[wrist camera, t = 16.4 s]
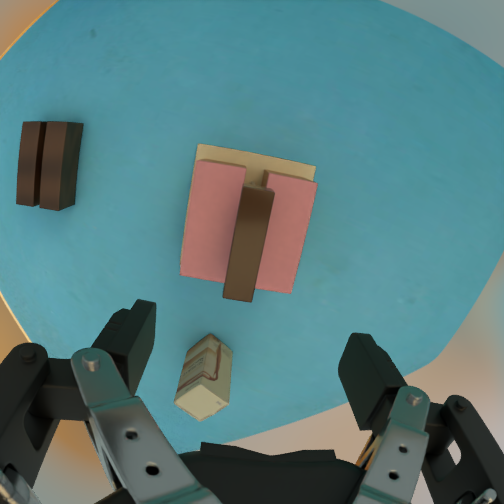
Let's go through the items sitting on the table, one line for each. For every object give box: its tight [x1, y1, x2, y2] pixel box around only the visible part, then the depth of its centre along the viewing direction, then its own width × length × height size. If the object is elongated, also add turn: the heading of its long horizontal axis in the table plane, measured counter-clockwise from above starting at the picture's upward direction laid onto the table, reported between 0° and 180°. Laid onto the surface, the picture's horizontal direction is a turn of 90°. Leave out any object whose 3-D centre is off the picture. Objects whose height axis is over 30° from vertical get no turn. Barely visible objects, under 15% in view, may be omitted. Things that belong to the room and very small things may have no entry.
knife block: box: [16, 121, 84, 211], centre depth 30 cm, size 10×7×4 cm
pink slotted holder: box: [180, 144, 318, 294], centre depth 32 cm, size 14×13×7 cm
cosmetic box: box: [174, 334, 233, 421], centre depth 36 cm, size 5×4×10 cm
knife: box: [222, 181, 275, 302], centre depth 29 cm, size 9×2×11 cm, turn 169°
